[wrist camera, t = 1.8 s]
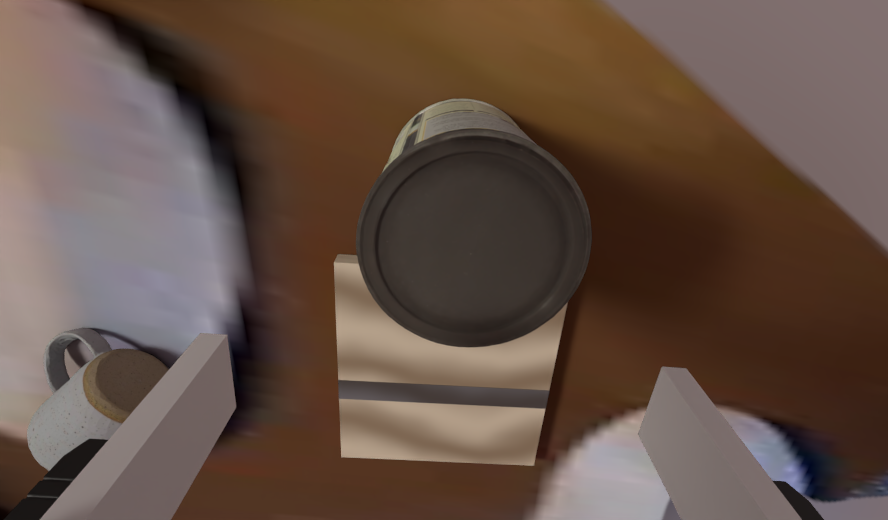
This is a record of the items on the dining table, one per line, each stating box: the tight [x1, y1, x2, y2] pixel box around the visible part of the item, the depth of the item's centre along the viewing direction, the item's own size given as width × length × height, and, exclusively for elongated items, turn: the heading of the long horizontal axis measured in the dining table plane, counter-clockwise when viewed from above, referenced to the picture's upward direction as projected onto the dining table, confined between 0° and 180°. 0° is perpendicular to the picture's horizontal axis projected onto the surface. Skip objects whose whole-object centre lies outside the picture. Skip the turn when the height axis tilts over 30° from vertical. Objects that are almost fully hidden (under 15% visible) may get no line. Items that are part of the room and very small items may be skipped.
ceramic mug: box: [27, 328, 169, 471], centre depth 36 cm, size 11×8×8 cm
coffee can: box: [356, 99, 592, 348], centre depth 26 cm, size 10×10×14 cm
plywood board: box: [334, 254, 568, 466], centre depth 39 cm, size 20×18×2 cm
